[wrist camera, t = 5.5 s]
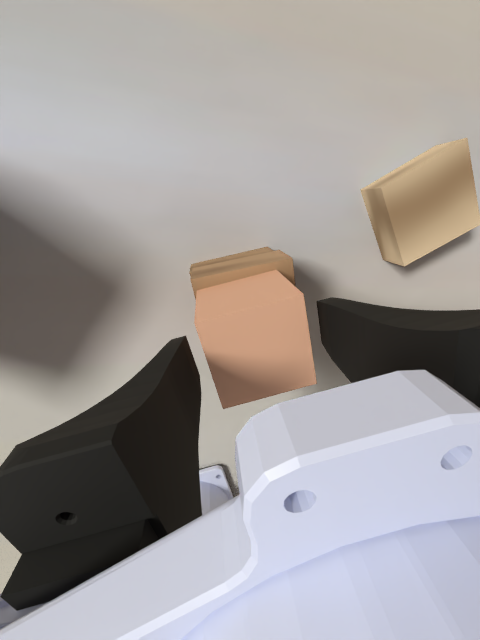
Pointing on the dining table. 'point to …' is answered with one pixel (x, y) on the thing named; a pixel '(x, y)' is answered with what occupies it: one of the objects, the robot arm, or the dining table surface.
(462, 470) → the robot arm
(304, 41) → the dining table surface
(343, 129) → the dining table surface
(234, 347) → the terracotta cube
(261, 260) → the tower top
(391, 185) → the slab
